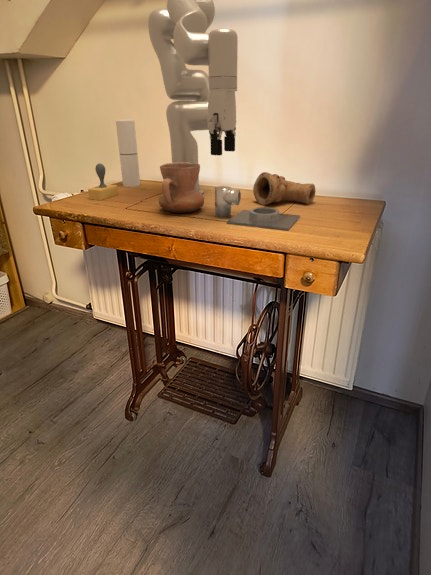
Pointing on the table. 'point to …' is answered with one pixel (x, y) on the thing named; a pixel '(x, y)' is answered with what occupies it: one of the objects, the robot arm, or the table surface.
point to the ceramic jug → (180, 187)
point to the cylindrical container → (128, 152)
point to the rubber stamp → (102, 186)
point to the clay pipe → (281, 190)
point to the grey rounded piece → (225, 200)
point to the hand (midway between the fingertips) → (223, 153)
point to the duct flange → (264, 218)
